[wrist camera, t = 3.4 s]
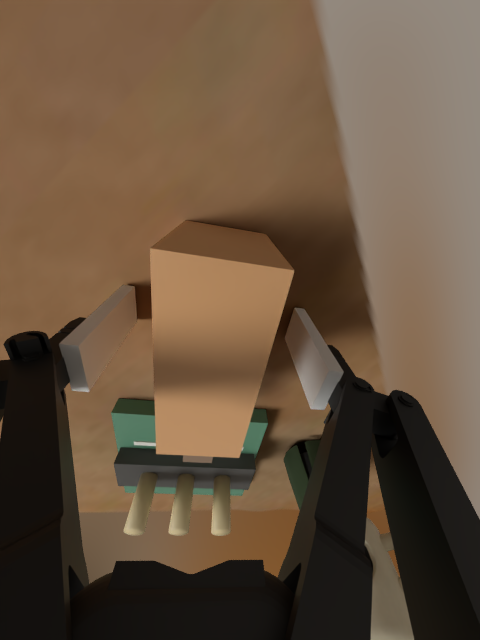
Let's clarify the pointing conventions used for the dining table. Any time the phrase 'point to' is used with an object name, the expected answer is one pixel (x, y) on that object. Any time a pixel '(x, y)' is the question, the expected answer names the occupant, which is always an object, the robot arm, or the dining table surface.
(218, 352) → the block
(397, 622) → the character mug
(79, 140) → the dining table surface
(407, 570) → the robot arm
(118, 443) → the board
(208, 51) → the dining table surface
